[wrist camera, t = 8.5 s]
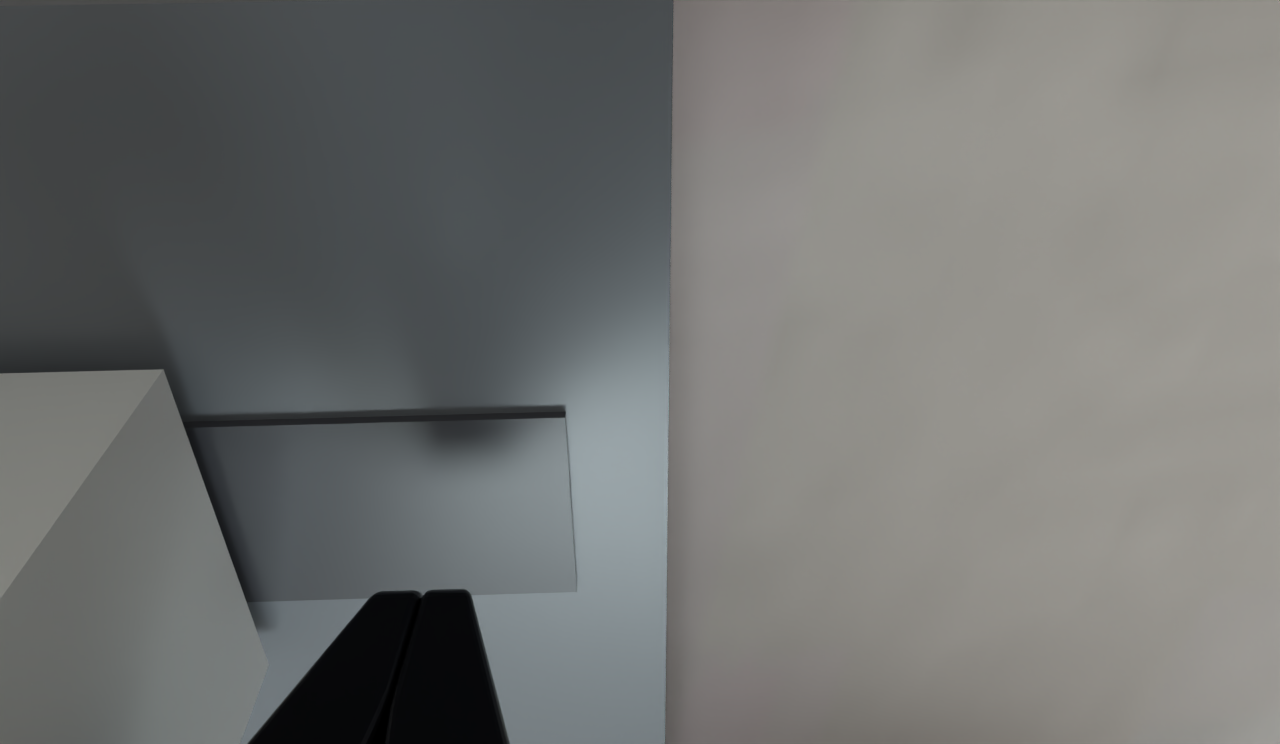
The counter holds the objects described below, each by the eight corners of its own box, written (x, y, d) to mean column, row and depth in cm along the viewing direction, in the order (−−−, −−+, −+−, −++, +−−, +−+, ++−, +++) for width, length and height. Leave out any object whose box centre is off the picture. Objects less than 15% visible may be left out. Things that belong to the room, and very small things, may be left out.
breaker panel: (656, -62, 9) (674, -2, 7) (655, 942, 20) (661, 1085, 18) (-1069, -37, 9) (-1632, 35, 6) (-94, 972, 20) (-179, 1122, 18)
